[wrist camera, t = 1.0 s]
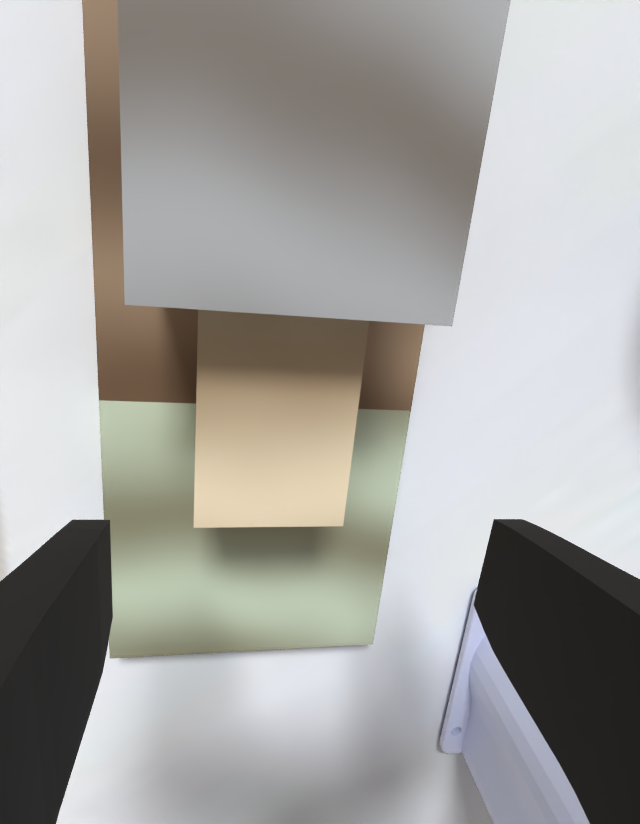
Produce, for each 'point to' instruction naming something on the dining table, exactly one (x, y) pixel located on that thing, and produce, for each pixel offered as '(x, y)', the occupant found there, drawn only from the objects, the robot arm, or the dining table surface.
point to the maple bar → (275, 418)
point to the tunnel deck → (269, 274)
